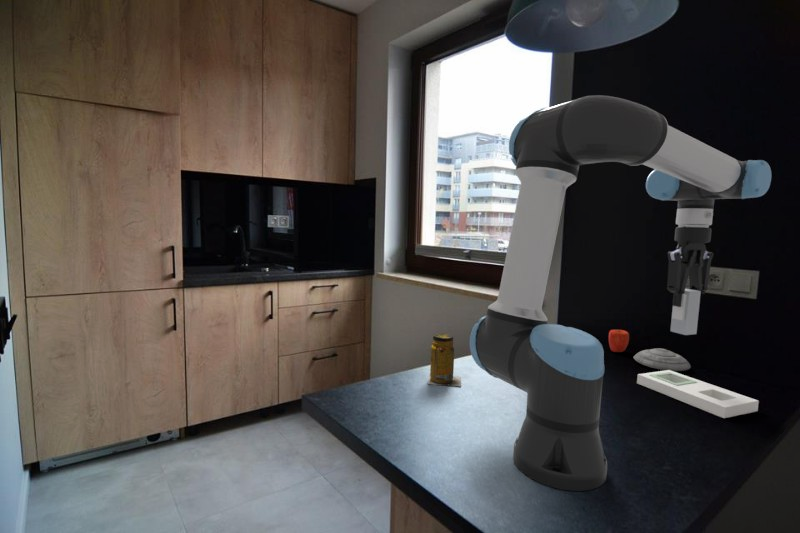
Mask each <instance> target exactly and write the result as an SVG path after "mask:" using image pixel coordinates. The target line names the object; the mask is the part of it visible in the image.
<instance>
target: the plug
mask: <svg viewBox="0 0 800 533" xmlns="http://www.w3.org/2000/svg"><path fill="white" fill-rule="evenodd" d="M684 294H686V295H687V296H686V306H685V316H684V320H678V319H674V318H672V317H671V322H670V330H669V331H670V332H672V333H676V334H679V335H683V336H690V335H691V336H692V335H697V332H698V323H699V322H698V321H699V312H700V304H701V291H697V290H691V289H690V288H685V291H684ZM671 309H672V310H671V311H672V312H673V308H671ZM672 312H671V313H672Z"/></svg>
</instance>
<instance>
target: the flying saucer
mask: <svg viewBox="0 0 800 533" xmlns="http://www.w3.org/2000/svg"><path fill="white" fill-rule="evenodd" d="M633 359H634V360H635V361H636V363H638V364H641V365H643V366H645V367H649V368H652V369H655V370H660V371H665V370H671V371H674V372H682V371H688V370H690V369H691V368H692V366H691V364H690V363H689V361H688V360H687V358H684V357H683V356H682V355H680V354H678V353H675V352H674V351H671V350H668V349H666V348H660V347H659V348H658V347H657V348H650V349H644V350H640V351H639V352H637V353H636V354H635V355H634V356H633Z"/></svg>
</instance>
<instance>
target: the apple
mask: <svg viewBox="0 0 800 533" xmlns="http://www.w3.org/2000/svg"><path fill="white" fill-rule="evenodd" d="M629 341H630V333H629V332H628V331H626V330H623V329H610V330H609V332H608V345H609V348H610V350H611V352H613V353H623V352H625V351H626V348H627V346H628V345H629Z"/></svg>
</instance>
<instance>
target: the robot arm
mask: <svg viewBox="0 0 800 533" xmlns="http://www.w3.org/2000/svg"><path fill="white" fill-rule="evenodd" d="M508 151H509V155H510V156H511V161H512V163H513V165H514V166H515V170H514V174H515V175H516V177H517V178H518V180H519V181H520V185H519V186H520V187H519V191H518V196H517V201H516V206H515V211H514V214H513V220H512V226H511V231H510V236H509V240H508V246H507V250H506V256H505V259H504V266H503V270H502V274H501V279H500V280H501V281H500V285H499V290H498V295H497V299H496V301H494V302H492V303H491V304H489V305H488V307H487V310H486V315H484V316H482V317H481V318H480V319H478V322H477V323H475V324H474V325H473V327H472V330H471V333H470V336H469V350H470V355H471V357H472V358H473V361H474V362H475V363H476V365H477V366H478V367H479V368H480V369H482V370H483V371H484V372H486V373H487V374H488V375H490V376H492V377H493V378H494V379H495V378H496V379H499V380H501V381H503V382H505V383H507V384H509V385H511V386H513V387H515V388H517V389H519V390H521V391H523V392H525V393H526V395H527V396H526V411H525V412H526V413H525V417H524V420H523V422H522V425H521V428H520V432H519V434H518V436H517V437H516V438H515V440H514V444H513V455H512V459H513V462H514V464H515V466H516V467H517V468H518V470H520V471H521V472H522V473H523V474H524V475H526V476H527V477H529V478H530V479H531V480H534V481H535V482H538V483H540V484H543V485H546V486H548V487H551V488H556V489H559V490H565V491H576V492H580V491H590V490H594V489H596V488H600V486H602V485H603V484H605V482H606V480H607V477H608V476H607V475H608V460H607V457H606V455H605V453H604V447H603V442H602V438H601V434H600V430H599V427H600V414H601V413H600V412H601V405H602V404H601V401H602V391H603V383H604V382H603V381H604V374H605V364H604V363H605V360H604V359H605V357H604V356H605V355H604V353H605V351H604V348H603V344H602V343H601V342H600V341H599V339H597V338H596V337H595V336H593V335H592V334H590V333H588V332H586V331H583V330H581V329H579V328H575V327H572V326H564V325H561V324H556V323H555V324H554V323H548V320H549V319H548V318H547V315H546V314H545V313H544V311H543V303H544V299H545V294H546V288H547V286H548V285H547V283H548V279H549V273H550V269H551V265H552V259H553V255H554V249H555V245H556V240H557V235H558V230H559V225H560V220H561V214H562V210H563V207H564V206H563V205H564V201H565V200H564V199H565V195H566V190H567V189H568V187H570V186H571V185H572V184H574V183H576V181H577V179H578V175H579V174H578V173H579V169H580V166H584V165H590V164H596V163H597V164H598V163H610V162H612V163H613V162H615V163H621V164H625V165H628V166H631V167H633V166H636V167H637V166H640V165H642V166H643V165H644V166H646V167H648V168H651V169H653V170H652V171H651V172H650V173H649V174H648V176H647V178H646V180H645V181H646V182H645V189H646V192H647V193H648V195H649V197H651V198H654V199H656V200H660V201H663V202H664V201H677V209H676V214H675V215H676V217H675V225H678V226H677V227H675V230H674V237H673V238H674V241H675V242H677V246H676V247H675V250H673V251H668V252H667V258H668V267H667V268H668V270H667V271H668V272H667V281H666V282H667V284H666V290H667V291H669V293H672V294H673V296H672V309H673V312H671V319H672V318H674V319H678V320H684V316H685V306H686V296H687V295H686V294H684V291H685V289H686V287H687V283H688V280H689V289H691V290H697V291H701V294H702V295H704V294H706V291H707V290H708V288H709V279H710V272H711V265H712V261H713V258H714V252H712V251H711V252H710V251H708V250H707V247H706V244H708V243H710V242H711V239H712V230H713V229H712V228H711V227H710V226H712V225H713V216H714V208H715V207H714V206H715V200H720V199H721V200H725V199H726V200H727V199H731V200H732V199H741V200H745V199H751V198H752V199H754V198H759V197H762V196H764V195H765V194H767V192H768V191H769V189H770V186H771V184H772V183H771V182H772V170H771V167H770V165H769V163H768V162H767V161H765V160H763V159H757V160H755V159H754V160H753V159H748V160H744V161H743V160H742V161H741V160H738V159H736V158H735V157H732V156H730V155H729V154H727V153H724V152H722V151H720V150H719V149H716V148H714V147H712V146H711V145H708V144H706V143H705V142H702V141H700V140H699V139H697V138H694V137H693V136H690V135H689V134H686V133H685V132H682V131H681V130H679V129H677V128H675V127H673V126H671V125H669V123H668V121H667V119H666V117H665V116H664V115H663V114H661V113H660V112H658V111H656V110H655V109H652V108H650V107H648V106H646V105H643V104H641V103H638V102H635V101H631V100H628V99H625V98H621V97H617V96H616V97H615V96H610V95H600V94H599V95H598V94H597V95H586V96H582V97H579V98H576V99H573V100H570V101H567V102H563V103H560V104H557V105H554V106H550V107H543V108H540V109H537V110H534V111H533V112H531V113H529V114H527V115H525V116H524V117H522V118H521V119H519V121H518V122H517V123H516V124H515V125H514V127H513V129H512V131H511V134H510V137H509V141H508ZM701 294H700V295H701Z"/></svg>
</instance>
